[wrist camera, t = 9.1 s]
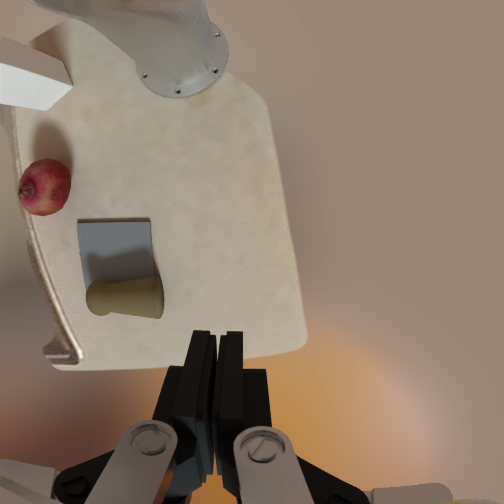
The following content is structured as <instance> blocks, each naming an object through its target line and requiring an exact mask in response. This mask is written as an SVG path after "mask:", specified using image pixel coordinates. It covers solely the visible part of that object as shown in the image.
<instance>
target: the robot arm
mask: <svg viewBox="0 0 504 504" xmlns="http://www.w3.org/2000/svg"><path fill="white" fill-rule="evenodd" d="M29 1H30V2H32V3H33V4H35V5H37V6H39V7H41V8H43V9H45V10H48V11H51V12H54V13H57V14H60V15H63V16H67V17H70V18H74V19H77V20H79V21H82V22H84V23H86V24H88V25H90V26H91V27H93V28H95V29H96V30H97V31H99V32H100V33H101V34H103V35H104V36H105V37H106V38H108V39H109V40H110V41H111V42H113V43H114V44H115V45H116V46H118V47H119V48H120V49H121V50H122V51H123V52H125V53H126V54H127V55H128V56H129V57H130V58H132V59H133V60H134V61H135V62H136V70H137V74H138V76H139V78H140V80H141V82H142V83H143V84H144V85H145V86H146V87H147V88H148V89H149V90H151V91H152V92H154V93H156V94H158V95H161V96H163V97H169V98H183V97H189V96H192V95H195V94H198V93H200V92H202V91H203V90H205V89H207V88H208V87H210V86H211V85H212V84H213V83H214V82H215V81H216V80H217V79H218V78H219V77H220V76H221V74H222V72H223V71H224V69H225V67H226V64H227V60H228V55H229V53H228V45H227V40H226V38H225V36H224V34H223V33H222V31H221V30H220V29H219V28H218V27H217V26H216V25H214V24H213V23H212V22H210V20H209V17H208V13H207V9H206V5H205V1H204V0H29ZM217 36H219V37H218V38H217ZM214 71H218V72H217V73H214ZM145 76H147V77H146V78H145ZM178 91H181V93H180V94H178ZM214 452H215V457H216V465H217V473H218V475H222V480H223V487H224V488H225V489H226V490H227V491H229V492H230V493H231V494H232V495H234V496H235V497H236V504H499V503H497V502H495V501H492V500H487V499H463V500H457V501H453V496H452V494H451V492H450V490H449V489H448V488H447V487H446V486H445V485H442V484H440V483H428V484H420V485H412V486H403V487H390V488H374V489H373V490H372V491H361V490H360V489H358V488H357V487H354V486H352V485H350V484H348V483H346V482H344V481H342V480H340V479H338V478H336V477H334V476H332V475H331V474H329V473H327V472H325V471H323V470H321V469H319V468H318V467H316V466H314V465H312V464H310V463H309V462H307V461H305V460H303V459H301V458H300V457H298V456H297V455H296V454H295V452H294V449H293V446H292V444H291V442H290V440H289V438H288V436H287V435H285V434H284V433H283V432H282V431H280V430H278V429H276V428H272V423H271V413H270V404H269V394H268V384H267V374H266V369H243V332H242V331H227V335H221V337H220V345H219V353H218V361H217V344H216V335H210V331H202V330H194V331H193V334H192V337H191V341H190V345H189V348H188V352H187V356H186V359H185V363H184V366H169V368H168V371H167V374H166V377H165V380H164V383H163V386H162V389H161V392H160V395H159V398H158V402H157V405H156V408H155V411H154V414H153V418H152V420H146V421H141V422H138V423H136V424H134V425H132V426H131V427H130V428H129V429H128V430H127V431H126V432H125V434H124V436H123V437H122V439H121V441H120V443H119V445H118V446H117V448H116V449H115V450H112V451H110V452H108V453H105V454H103V455H101V456H98V457H96V458H93V459H91V460H88V461H86V462H84V463H81V464H78V465H76V466H73V467H70V468H68V469H66V470H64V471H62V472H57V471H56V469H54V468H48V467H42V466H36V465H32V464H27V463H22V462H18V461H14V460H9V459H1V460H0V504H190V501H191V498H192V492H193V491H194V490H196V489H197V488H199V487H201V486H202V482H203V483H206V474H209V475H212V474H213V464H214Z"/></svg>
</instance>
